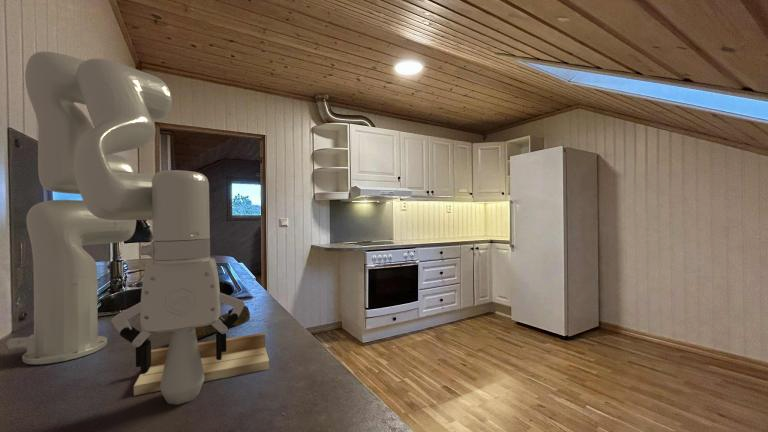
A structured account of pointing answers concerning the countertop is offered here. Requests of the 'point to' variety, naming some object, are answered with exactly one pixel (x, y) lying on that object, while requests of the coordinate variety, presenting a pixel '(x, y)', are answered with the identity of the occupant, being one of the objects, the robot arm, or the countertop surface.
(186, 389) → the salt shaker
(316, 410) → the countertop surface
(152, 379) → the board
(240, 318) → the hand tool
